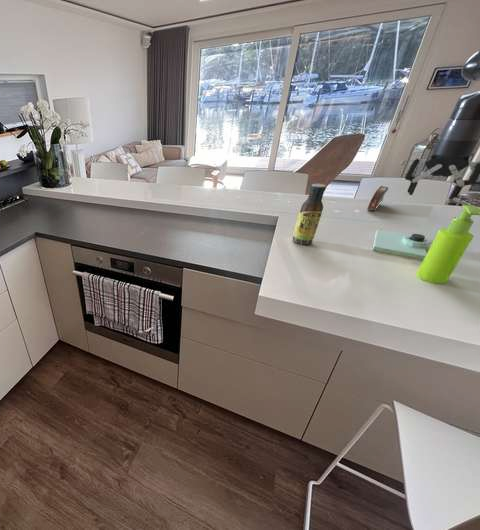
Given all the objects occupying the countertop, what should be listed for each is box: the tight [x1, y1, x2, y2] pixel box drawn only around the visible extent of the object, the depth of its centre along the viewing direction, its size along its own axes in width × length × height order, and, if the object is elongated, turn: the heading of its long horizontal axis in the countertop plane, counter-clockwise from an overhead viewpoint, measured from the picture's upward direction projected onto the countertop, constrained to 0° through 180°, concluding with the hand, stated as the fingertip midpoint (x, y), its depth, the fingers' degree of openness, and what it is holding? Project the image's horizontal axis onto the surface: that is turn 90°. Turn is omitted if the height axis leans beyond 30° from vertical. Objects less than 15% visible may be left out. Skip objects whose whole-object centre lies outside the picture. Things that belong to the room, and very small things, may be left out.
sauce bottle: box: [291, 183, 327, 245], centre depth 95 cm, size 6×6×20 cm
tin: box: [366, 185, 389, 211], centre depth 118 cm, size 15×3×8 cm, turn 133°
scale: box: [372, 228, 431, 261], centre depth 92 cm, size 12×16×3 cm
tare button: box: [410, 233, 426, 242], centre depth 89 cm, size 3×3×2 cm
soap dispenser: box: [415, 204, 480, 285], centre depth 72 cm, size 6×7×20 cm
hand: (429, 196), depth 85 cm, fingers open, 8 cm apart
